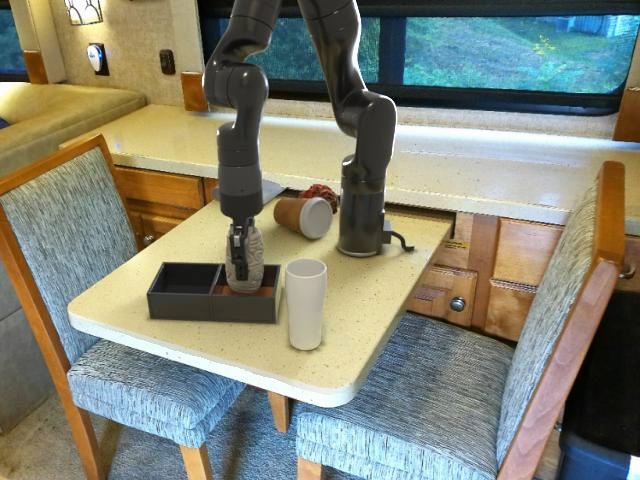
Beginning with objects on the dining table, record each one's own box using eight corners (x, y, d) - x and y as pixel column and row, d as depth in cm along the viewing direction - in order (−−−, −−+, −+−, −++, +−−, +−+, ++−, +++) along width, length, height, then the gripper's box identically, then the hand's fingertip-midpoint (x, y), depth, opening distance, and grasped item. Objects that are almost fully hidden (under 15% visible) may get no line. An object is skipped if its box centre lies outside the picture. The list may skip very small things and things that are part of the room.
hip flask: (263, 208, 153) (299, 182, 167) (262, 193, 151) (299, 168, 165) (212, 198, 160) (250, 173, 174) (210, 184, 158) (249, 160, 172)
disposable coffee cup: (286, 237, 146) (323, 246, 137) (262, 221, 139) (299, 229, 131) (301, 202, 146) (339, 208, 138) (278, 184, 140) (316, 189, 131)
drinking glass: (283, 333, 106) (281, 259, 98) (320, 329, 107) (322, 255, 99) (288, 356, 101) (288, 279, 93) (328, 352, 101) (331, 275, 93)
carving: (256, 299, 109) (253, 241, 103) (220, 291, 112) (215, 234, 106) (271, 283, 114) (269, 226, 107) (236, 275, 117) (232, 219, 110)
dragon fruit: (338, 228, 144) (299, 223, 152) (352, 199, 146) (313, 195, 154) (323, 208, 138) (283, 204, 146) (338, 178, 140) (297, 175, 148)
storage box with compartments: (281, 289, 119) (281, 264, 116) (276, 323, 109) (275, 297, 106) (166, 285, 123) (162, 261, 120) (150, 319, 113) (146, 293, 110)
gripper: (257, 202, 96) (260, 291, 104) (266, 170, 107) (269, 252, 116) (211, 202, 97) (218, 289, 106) (225, 170, 109) (231, 251, 118)
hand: (245, 270), depth 111 cm, fingers closed on carving, 6 cm apart
